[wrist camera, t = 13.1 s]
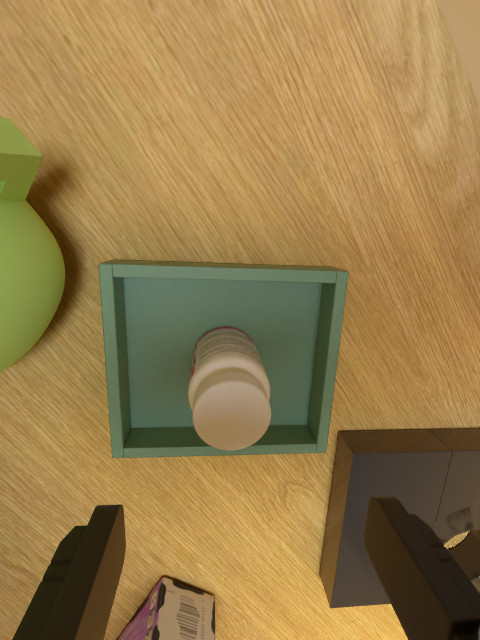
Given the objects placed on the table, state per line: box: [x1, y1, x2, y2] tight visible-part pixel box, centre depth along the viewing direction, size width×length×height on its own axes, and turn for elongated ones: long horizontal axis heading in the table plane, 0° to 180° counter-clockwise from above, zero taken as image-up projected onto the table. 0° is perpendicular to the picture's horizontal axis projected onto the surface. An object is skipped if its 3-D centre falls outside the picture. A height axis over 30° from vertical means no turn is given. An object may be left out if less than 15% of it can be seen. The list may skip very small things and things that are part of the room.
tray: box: [99, 260, 348, 458], centre depth 23 cm, size 16×14×3 cm
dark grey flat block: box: [320, 428, 480, 608], centre depth 29 cm, size 18×17×3 cm
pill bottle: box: [188, 326, 271, 451], centre depth 20 cm, size 5×5×8 cm
